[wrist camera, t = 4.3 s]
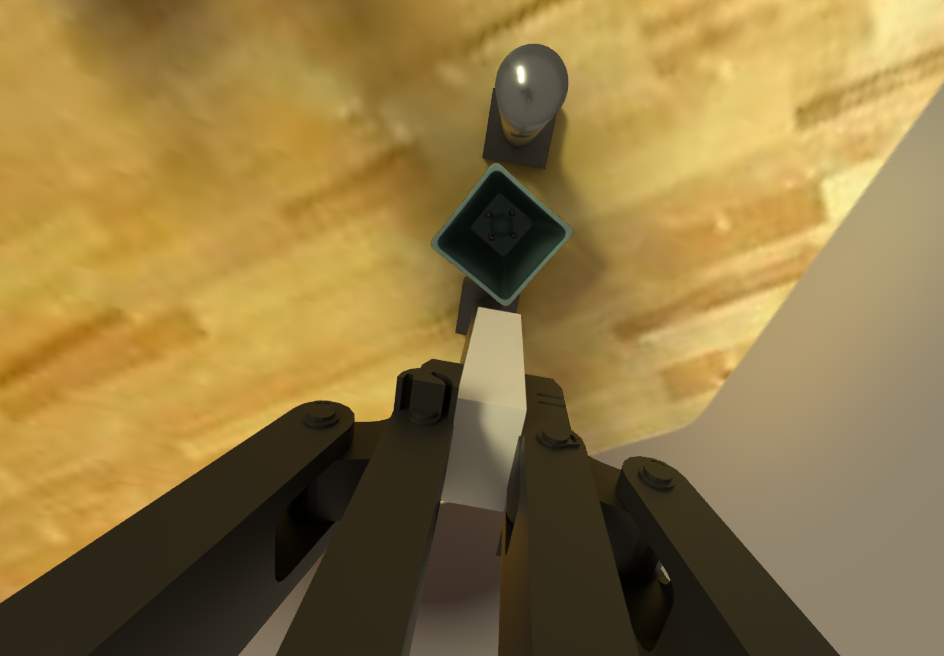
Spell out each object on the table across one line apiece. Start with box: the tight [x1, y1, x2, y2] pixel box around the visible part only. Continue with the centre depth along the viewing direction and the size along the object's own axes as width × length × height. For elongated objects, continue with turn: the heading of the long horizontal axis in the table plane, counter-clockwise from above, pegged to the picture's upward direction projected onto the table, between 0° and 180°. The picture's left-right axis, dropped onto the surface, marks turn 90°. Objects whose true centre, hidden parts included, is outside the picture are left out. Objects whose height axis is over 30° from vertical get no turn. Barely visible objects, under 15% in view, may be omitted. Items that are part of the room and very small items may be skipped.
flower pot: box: [431, 163, 573, 306], centre depth 42 cm, size 9×9×9 cm
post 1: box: [456, 277, 520, 365], centre depth 37 cm, size 6×6×26 cm
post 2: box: [483, 44, 568, 169], centre depth 31 cm, size 6×6×26 cm
